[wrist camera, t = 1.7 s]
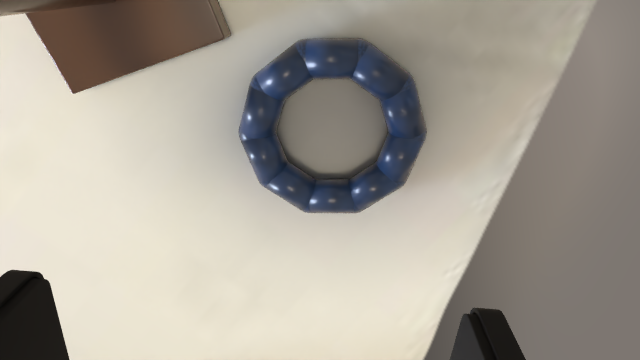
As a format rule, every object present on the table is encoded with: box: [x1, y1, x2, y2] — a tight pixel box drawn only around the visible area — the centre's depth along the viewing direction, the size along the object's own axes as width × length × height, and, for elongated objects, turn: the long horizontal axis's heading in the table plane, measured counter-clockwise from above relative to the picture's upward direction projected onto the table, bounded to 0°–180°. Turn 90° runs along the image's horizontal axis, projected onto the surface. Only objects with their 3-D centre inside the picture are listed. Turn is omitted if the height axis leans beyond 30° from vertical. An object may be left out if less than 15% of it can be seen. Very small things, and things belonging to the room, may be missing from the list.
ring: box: [239, 38, 427, 213], centre depth 24 cm, size 10×10×2 cm
